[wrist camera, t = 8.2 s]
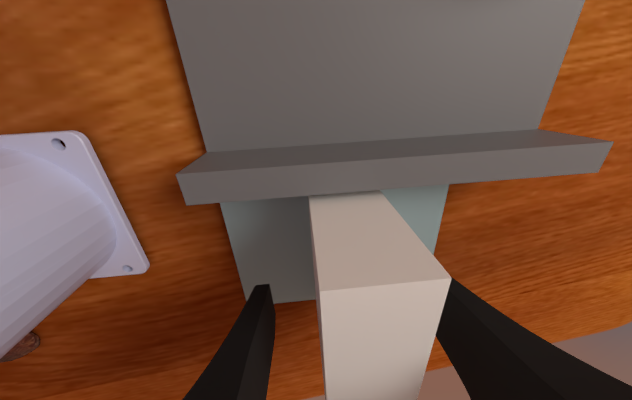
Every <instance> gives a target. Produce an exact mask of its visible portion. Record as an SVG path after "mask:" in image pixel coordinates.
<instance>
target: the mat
mask: <svg viewBox="0 0 632 400" xmlns="http://www.w3.org/2000/svg"><path fill="white" fill-rule="evenodd" d="M448 187H449V184H446V185H434V186H421V187H409V188H396V189H384V190H380V191H381V193H382V194H383V195H384V196H385V197H386V199H387V200H388V201H389V202H390V203H391V205H392V206H393V207H394V208H395V210H396V211H397V212H398V213H399V214H400V216H401V217H402V218H403V219H404V221H405V222H406V223H407V224H408V225H409V227H410V228H411V229H412V230H413V231H414V233H415V234H416V235H417V236H418V238H419V239H420V240H421V241H422V242H423V244H424V245H425V246H426V247H427V248H428V250H429V251H430V252H431V253H432V255H433V254H434V249H435V245H436V240H437V236H438V232H439V227H440V223H441V218H442V214H443V209H444V205H445V201H446V196H447V192H448ZM220 206H221V210H222V213H223V217H224V221H225V224H226V228H227V232H228V235H229V239H230V243H231V246H232V250H233V254H234V257H235V261H236V265H237V268H238V272H239V276H240V279H241V283H242V287H243V291H244V294H245V298H246V302H247V300H248V298H249V296H250V294H251V292H252V290H253V288H254V287H255V286H256V285H262V284H270V289H271V294H272V299H273V304H275V303H285V302H295V301H305V300H315V299H316V293H315V280H314V267H313V254H312V241H311V227H310V214H309V201H308V196H297V197H285V198H272V199H260V200H247V201H235V202H223V203H220Z"/></svg>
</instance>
